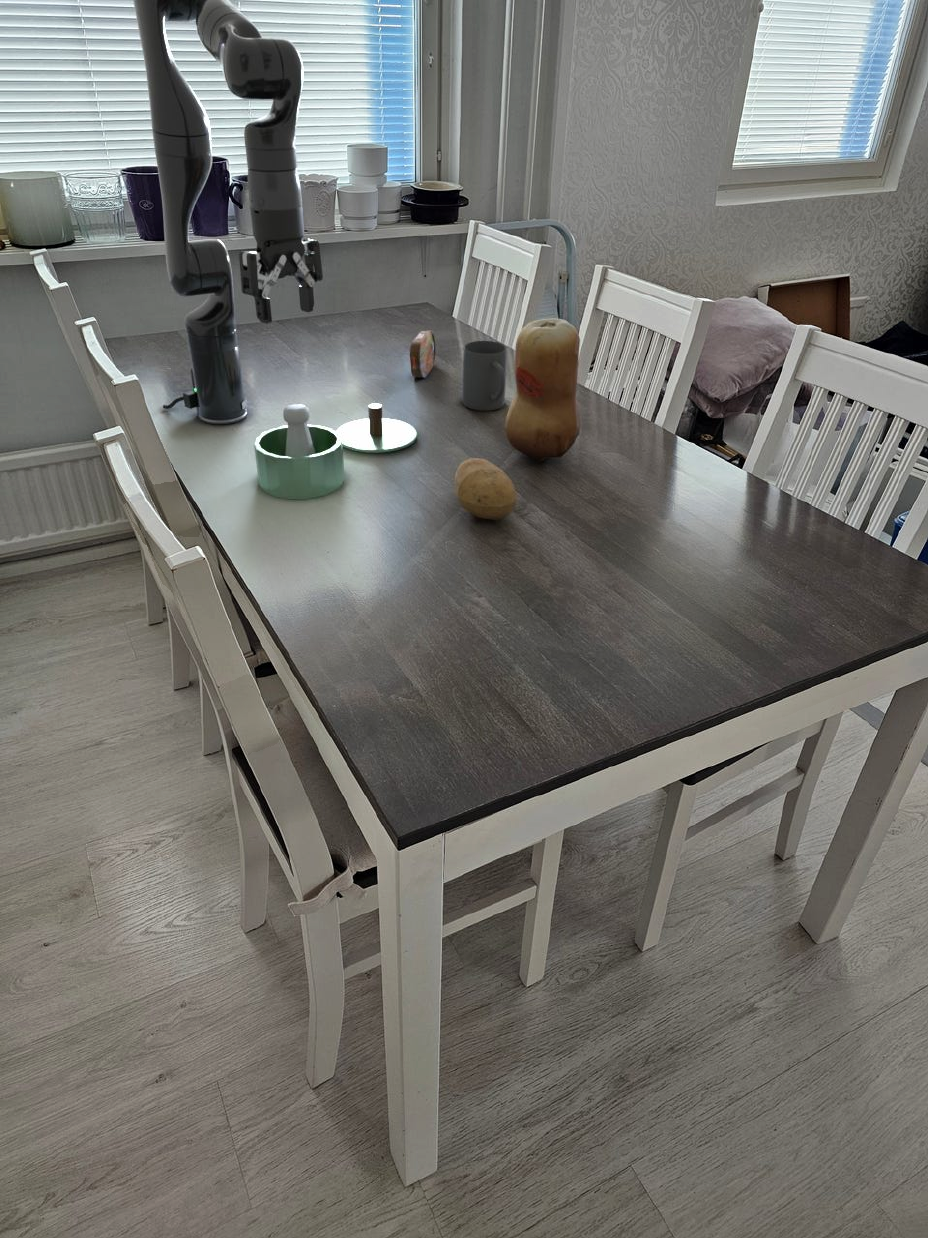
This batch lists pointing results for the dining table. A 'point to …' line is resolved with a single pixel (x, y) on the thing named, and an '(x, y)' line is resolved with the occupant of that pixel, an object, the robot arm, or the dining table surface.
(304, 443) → the salt shaker
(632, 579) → the dining table surface
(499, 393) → the mug
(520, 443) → the butternut squash
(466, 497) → the potato
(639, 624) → the dining table surface
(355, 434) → the pot lid
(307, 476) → the pot
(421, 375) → the tin
